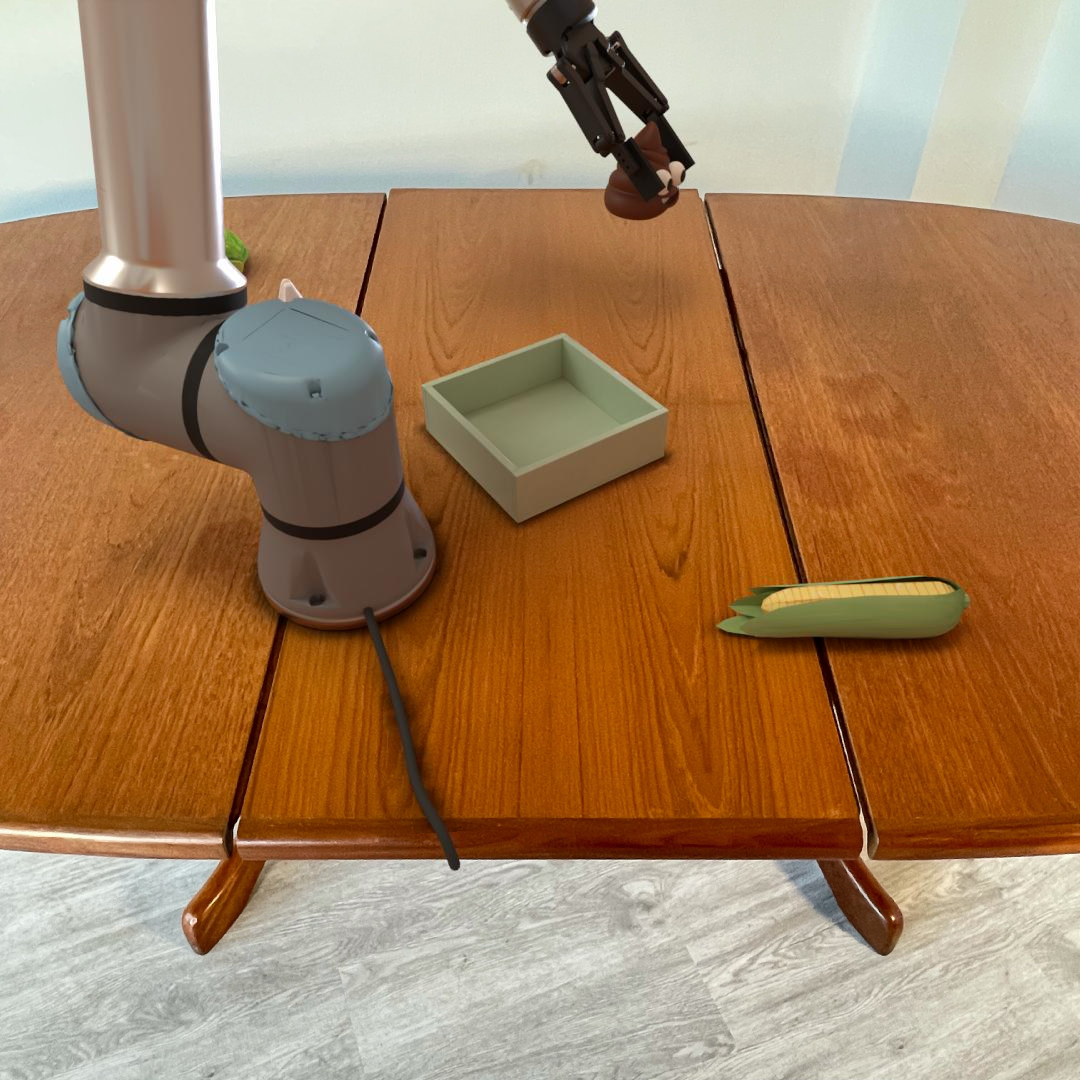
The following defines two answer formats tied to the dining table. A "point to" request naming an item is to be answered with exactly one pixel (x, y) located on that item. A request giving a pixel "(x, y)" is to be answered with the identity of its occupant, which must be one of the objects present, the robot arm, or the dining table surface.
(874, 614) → the edible corn
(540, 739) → the dining table surface
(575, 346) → the tub
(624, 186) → the poop emoji
